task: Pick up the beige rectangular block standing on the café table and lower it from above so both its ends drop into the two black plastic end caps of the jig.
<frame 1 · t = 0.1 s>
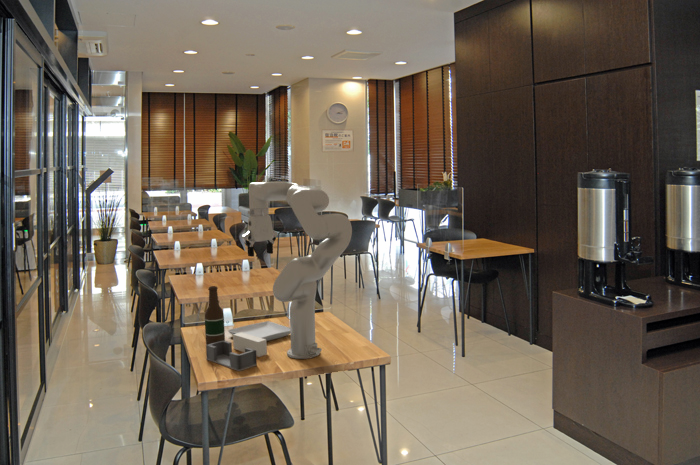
hand: (260, 254, 226), 37 cm above the table, tool pointing down, fingers open, 9 cm apart
endcap jig: (231, 362, 206), on the table
beer bottle: (215, 344, 229), on the table
salad plate: (261, 337, 239), on the table
beige rectangular block: (249, 351, 218), on the table
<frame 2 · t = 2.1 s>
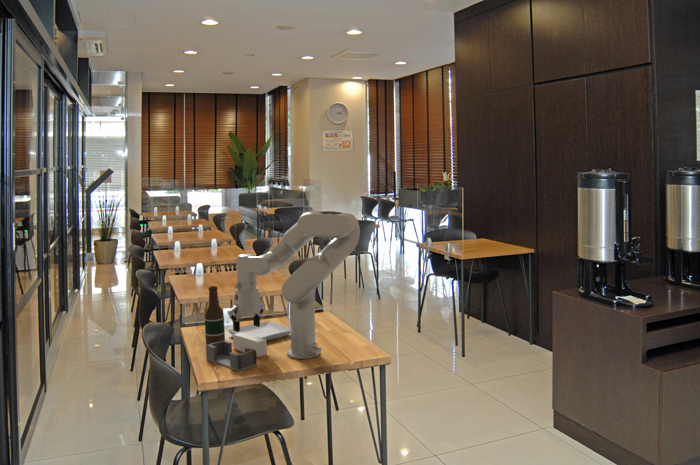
hand: (246, 328, 218), 9 cm above the table, tool pointing down, fingers open, 9 cm apart
nothing on the table moved.
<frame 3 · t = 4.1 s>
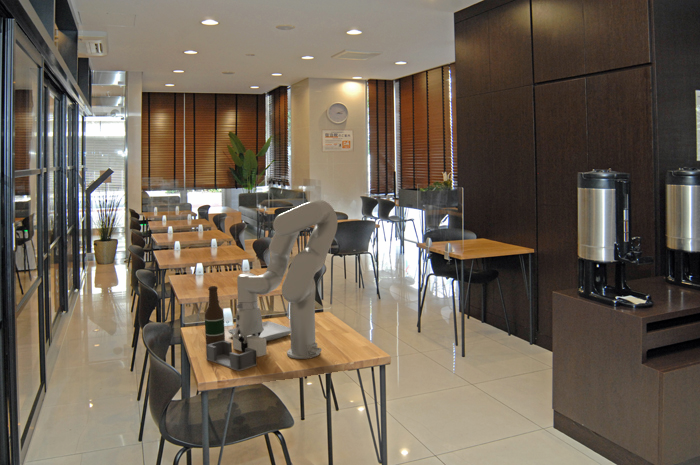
hand: (249, 350, 218), 0 cm above the table, tool pointing down, fingers closed on beige rectangular block, 4 cm apart
beige rectangular block: (249, 351, 218), on the table, touching gripper
everything else where it was.
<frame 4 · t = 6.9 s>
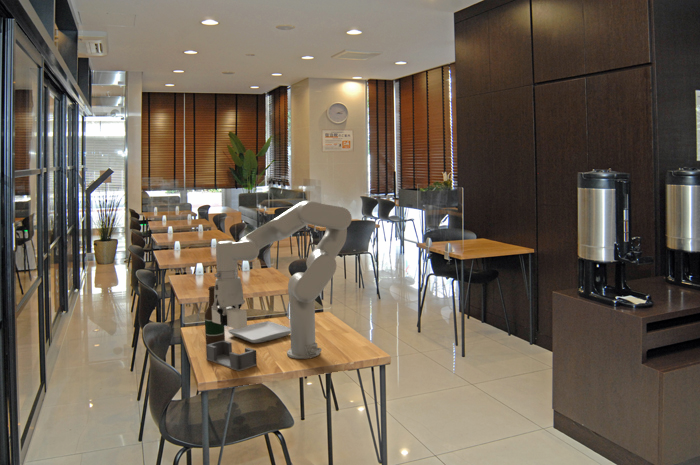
hand: (229, 323, 204), 15 cm above the table, tool pointing down, fingers closed on beige rectangular block, 4 cm apart
beige rectangular block: (229, 324, 204), point 14 cm above the table, touching gripper
everything else where it was.
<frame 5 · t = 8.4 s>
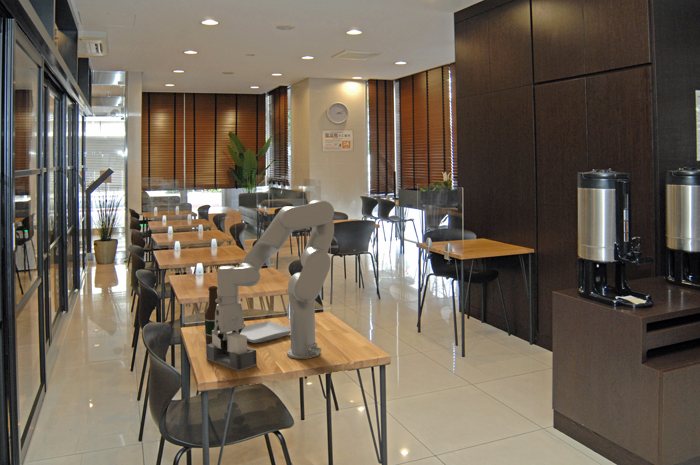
hand: (229, 348, 205), 6 cm above the table, tool pointing down, fingers closed on beige rectangular block, 4 cm apart
beige rectangular block: (229, 349, 205), point 5 cm above the table, touching gripper
everything else where it was.
when the fingers open (2 cm above the table, at t = 9.8 s): beige rectangular block drops 1 cm, resting on endcap jig.
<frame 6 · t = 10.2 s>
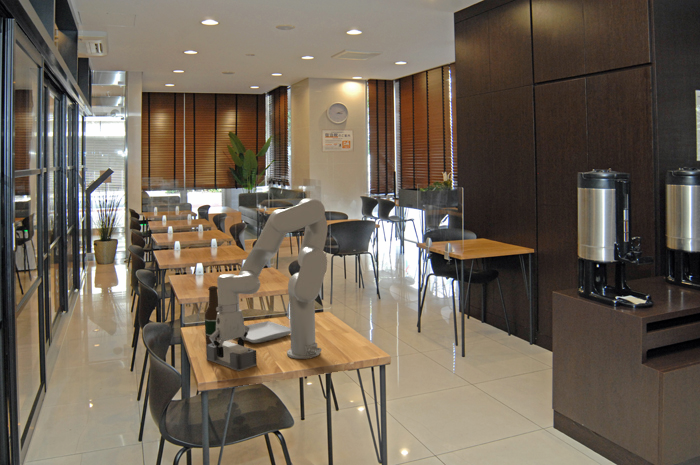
hand: (230, 353, 205), 3 cm above the table, tool pointing down, fingers open, 8 cm apart
beige rectangular block: (231, 360, 206), point 1 cm above the table, touching endcap jig
everything else where it was.
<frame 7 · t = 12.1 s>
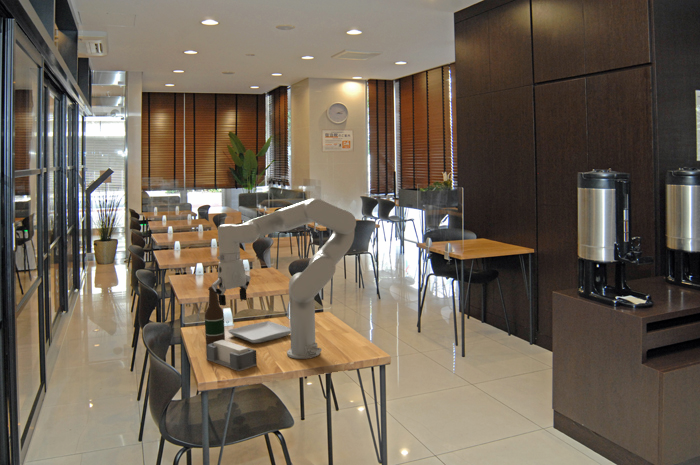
hand: (233, 302, 208), 22 cm above the table, tool pointing down, fingers open, 9 cm apart
nothing on the table moved.
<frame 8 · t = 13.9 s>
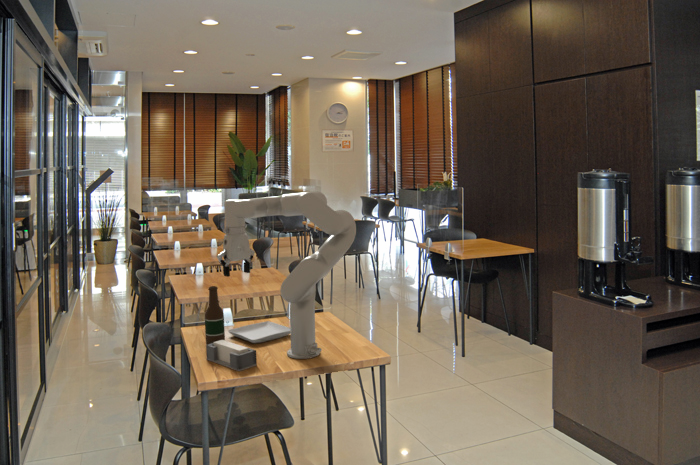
hand: (237, 274, 218), 30 cm above the table, tool pointing down, fingers open, 9 cm apart
nothing on the table moved.
at the end: beige rectangular block 0.0 cm off-centre on the endcap jig, point 0.6 cm above the endcap jig's base; beige rectangular block tilted 0°; the gripper is holding nothing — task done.
